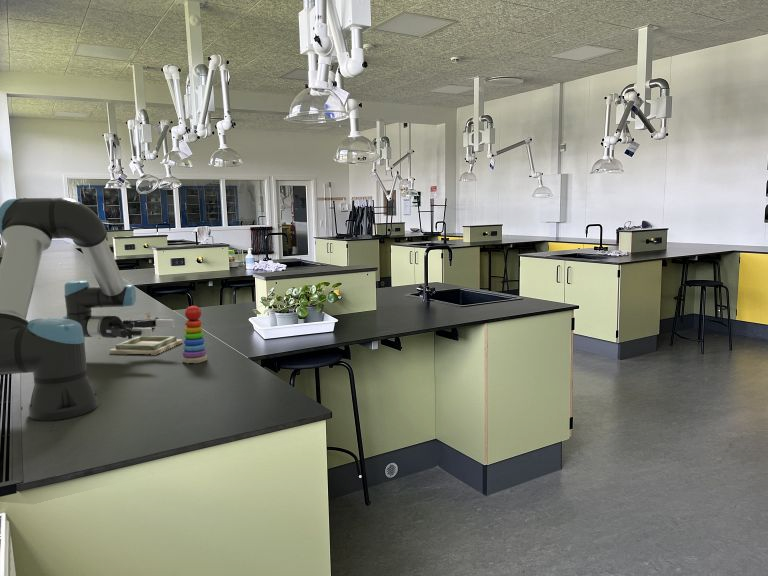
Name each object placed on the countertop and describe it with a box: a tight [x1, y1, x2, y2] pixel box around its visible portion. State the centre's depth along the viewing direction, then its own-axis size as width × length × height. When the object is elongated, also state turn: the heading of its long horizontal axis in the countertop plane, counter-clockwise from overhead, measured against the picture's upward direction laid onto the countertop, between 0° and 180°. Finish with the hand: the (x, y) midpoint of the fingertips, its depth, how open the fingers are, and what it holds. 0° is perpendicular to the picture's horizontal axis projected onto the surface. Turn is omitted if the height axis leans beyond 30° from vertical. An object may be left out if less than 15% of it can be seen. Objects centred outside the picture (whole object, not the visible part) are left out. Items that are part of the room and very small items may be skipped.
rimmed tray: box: [108, 335, 183, 356], centre depth 205 cm, size 18×18×3 cm
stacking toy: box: [181, 305, 208, 364], centre depth 185 cm, size 8×8×19 cm
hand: (163, 327), depth 187 cm, fingers open, 13 cm apart
